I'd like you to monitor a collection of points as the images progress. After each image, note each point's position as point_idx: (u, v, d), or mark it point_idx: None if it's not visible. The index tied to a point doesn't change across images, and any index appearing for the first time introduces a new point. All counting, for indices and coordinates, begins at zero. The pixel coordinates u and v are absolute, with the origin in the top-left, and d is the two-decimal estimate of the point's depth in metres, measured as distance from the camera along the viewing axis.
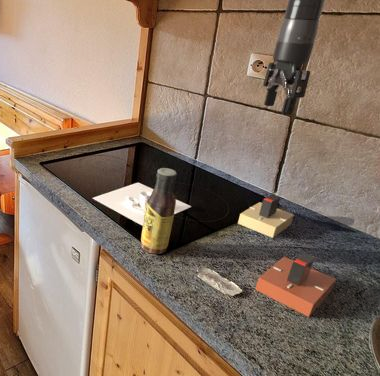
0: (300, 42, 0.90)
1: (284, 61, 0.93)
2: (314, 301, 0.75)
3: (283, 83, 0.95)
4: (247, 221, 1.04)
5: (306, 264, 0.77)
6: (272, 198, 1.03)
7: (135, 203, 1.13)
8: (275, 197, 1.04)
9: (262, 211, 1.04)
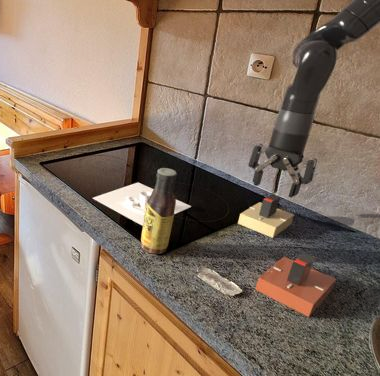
0: (306, 133, 0.93)
1: (292, 151, 0.94)
2: (314, 301, 0.75)
3: (289, 170, 0.97)
4: (247, 221, 1.04)
5: (306, 264, 0.77)
6: (272, 198, 1.03)
7: (135, 203, 1.13)
8: (275, 197, 1.04)
9: (262, 211, 1.04)
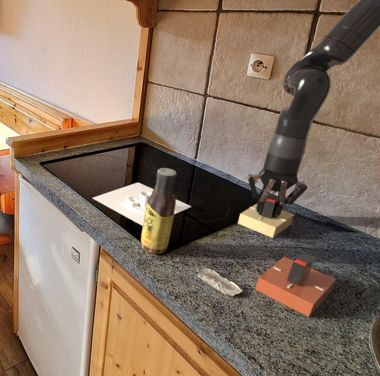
0: None
1: (293, 174, 0.96)
2: (314, 301, 0.75)
3: (282, 192, 1.00)
4: (247, 221, 1.04)
5: (306, 264, 0.77)
6: (272, 198, 1.03)
7: (135, 203, 1.13)
8: (274, 196, 1.04)
9: (265, 212, 1.03)
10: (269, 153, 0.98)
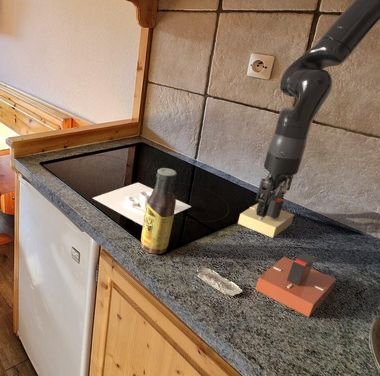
0: None
1: None
2: (314, 301, 0.75)
3: (286, 186, 1.02)
4: (247, 221, 1.04)
5: (306, 264, 0.77)
6: None
7: (135, 203, 1.13)
8: None
9: (277, 213, 1.03)
10: (283, 158, 0.95)
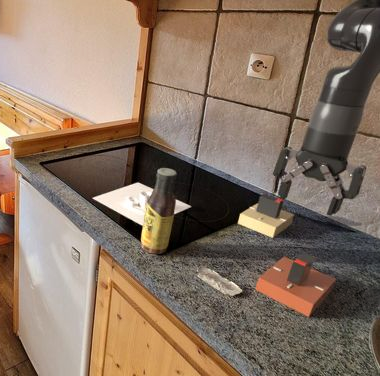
0: (354, 133, 0.71)
1: (334, 156, 0.72)
2: (314, 301, 0.75)
3: (329, 180, 0.75)
4: (247, 221, 1.04)
5: (306, 264, 0.77)
6: (271, 198, 1.03)
7: (135, 203, 1.13)
8: (267, 196, 1.04)
9: (277, 213, 1.03)
10: (308, 126, 0.75)
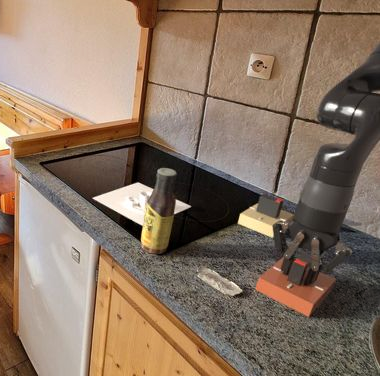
0: (344, 211, 0.71)
1: (325, 232, 0.72)
2: (314, 301, 0.75)
3: (314, 253, 0.75)
4: (247, 221, 1.04)
5: (306, 264, 0.77)
6: (271, 198, 1.03)
7: (135, 203, 1.13)
8: (267, 196, 1.04)
9: (277, 213, 1.03)
10: None
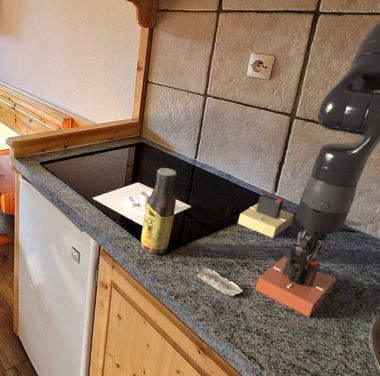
0: None
1: None
2: (314, 301, 0.75)
3: (322, 247, 0.77)
4: (247, 221, 1.04)
5: None
6: (271, 198, 1.03)
7: (135, 203, 1.13)
8: (267, 196, 1.04)
9: (277, 213, 1.03)
10: (325, 212, 0.71)
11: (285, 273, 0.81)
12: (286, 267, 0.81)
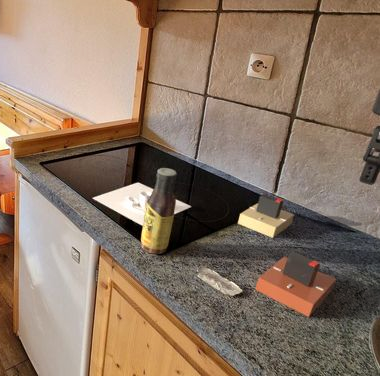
0: None
1: None
2: (314, 301, 0.75)
3: None
4: (247, 221, 1.04)
5: None
6: (271, 198, 1.03)
7: (135, 203, 1.13)
8: (267, 196, 1.04)
9: (277, 213, 1.03)
10: None
11: (285, 273, 0.81)
12: (286, 267, 0.81)
